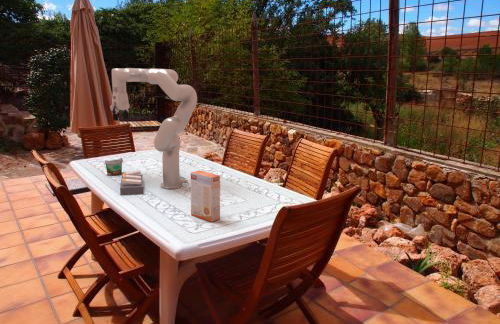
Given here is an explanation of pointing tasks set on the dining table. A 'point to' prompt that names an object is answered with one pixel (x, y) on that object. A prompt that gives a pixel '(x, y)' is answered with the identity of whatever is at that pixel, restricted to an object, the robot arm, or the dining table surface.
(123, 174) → the rocker far
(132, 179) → the rocker near
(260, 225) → the dining table surface
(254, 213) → the dining table surface
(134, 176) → the rocker middle
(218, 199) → the cracker box
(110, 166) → the food container
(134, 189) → the grey switch panel
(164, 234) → the dining table surface
